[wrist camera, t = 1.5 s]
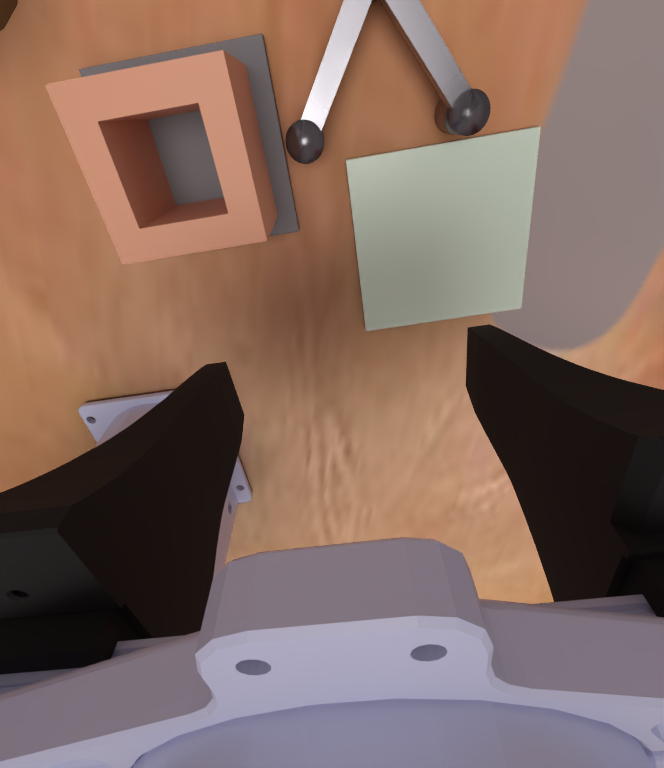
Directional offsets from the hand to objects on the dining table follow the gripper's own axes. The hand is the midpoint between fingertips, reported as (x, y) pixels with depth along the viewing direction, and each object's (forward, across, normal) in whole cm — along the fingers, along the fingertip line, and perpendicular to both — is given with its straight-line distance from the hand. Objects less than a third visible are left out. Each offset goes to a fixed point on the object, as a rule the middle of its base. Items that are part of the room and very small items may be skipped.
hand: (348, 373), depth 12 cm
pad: (+10, -5, -1) cm, 11 cm away
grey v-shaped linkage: (+10, -2, -8) cm, 12 cm away
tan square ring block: (+9, +5, -6) cm, 12 cm away
